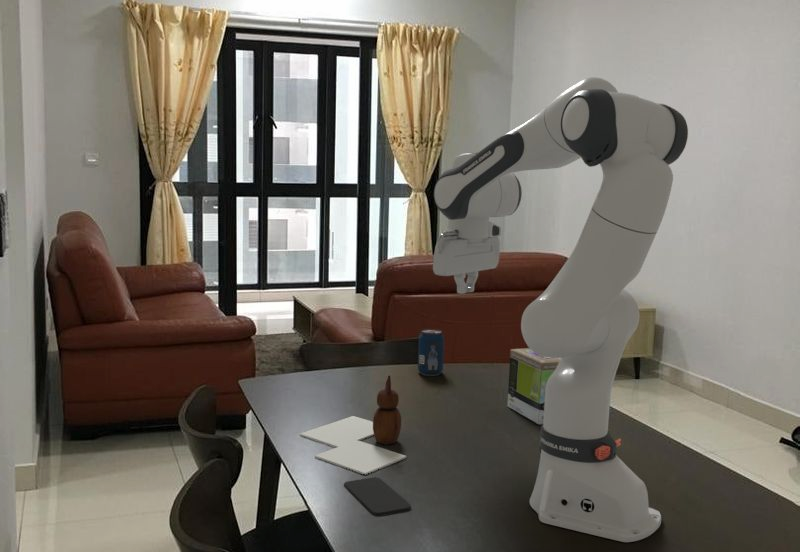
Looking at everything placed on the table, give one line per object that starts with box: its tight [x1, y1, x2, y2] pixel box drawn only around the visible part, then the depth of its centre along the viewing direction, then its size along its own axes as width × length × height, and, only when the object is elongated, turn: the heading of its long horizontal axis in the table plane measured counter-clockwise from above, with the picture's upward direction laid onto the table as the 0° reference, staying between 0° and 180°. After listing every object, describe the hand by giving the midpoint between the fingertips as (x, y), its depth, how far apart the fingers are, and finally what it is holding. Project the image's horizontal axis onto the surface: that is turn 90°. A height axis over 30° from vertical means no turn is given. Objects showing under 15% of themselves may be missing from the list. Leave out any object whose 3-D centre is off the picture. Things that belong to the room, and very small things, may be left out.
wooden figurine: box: [372, 375, 402, 445], centre depth 179 cm, size 7×6×15 cm
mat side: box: [314, 440, 407, 476], centre depth 171 cm, size 14×12×1 cm
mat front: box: [299, 415, 374, 448], centre depth 186 cm, size 12×17×1 cm
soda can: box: [417, 328, 445, 377], centre depth 235 cm, size 7×7×12 cm
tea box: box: [507, 347, 561, 425], centre depth 201 cm, size 15×10×15 cm, turn 22°
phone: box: [343, 476, 412, 517], centre depth 152 cm, size 7×1×15 cm
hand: (465, 292), depth 185 cm, fingers closed
